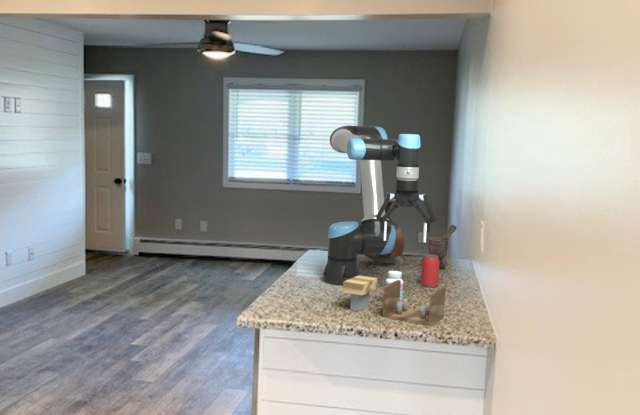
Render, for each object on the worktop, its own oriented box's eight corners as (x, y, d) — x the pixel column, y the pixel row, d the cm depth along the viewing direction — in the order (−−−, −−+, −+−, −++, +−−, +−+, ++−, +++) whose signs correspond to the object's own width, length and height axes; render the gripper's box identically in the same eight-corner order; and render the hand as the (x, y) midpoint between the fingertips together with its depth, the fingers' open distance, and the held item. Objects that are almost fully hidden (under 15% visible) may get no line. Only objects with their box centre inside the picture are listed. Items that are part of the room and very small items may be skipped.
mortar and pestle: (451, 266, 274) (454, 222, 272) (455, 270, 266) (457, 225, 264) (426, 265, 275) (428, 221, 273) (428, 269, 267) (430, 224, 264)
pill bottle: (397, 307, 203) (399, 275, 201) (381, 304, 206) (382, 272, 205) (405, 303, 208) (406, 271, 207) (389, 300, 211) (390, 269, 210)
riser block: (350, 309, 199) (350, 291, 198) (360, 304, 205) (361, 287, 205) (358, 311, 197) (359, 293, 196) (368, 305, 204) (369, 288, 203)
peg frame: (382, 317, 191) (384, 286, 190) (396, 309, 201) (397, 279, 200) (432, 326, 183) (433, 294, 182) (443, 317, 193) (445, 287, 192)
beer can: (437, 288, 232) (439, 257, 230) (420, 287, 233) (422, 256, 232) (438, 284, 238) (439, 254, 237) (421, 283, 239) (422, 253, 238)
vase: (367, 257, 288) (370, 195, 284) (407, 261, 281) (410, 198, 278) (353, 266, 266) (356, 199, 263) (396, 271, 260) (400, 202, 257)
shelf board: (362, 295, 194) (362, 284, 193) (342, 292, 197) (343, 281, 197) (377, 288, 204) (377, 277, 204) (358, 285, 207) (359, 275, 207)
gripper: (371, 178, 202) (368, 241, 204) (446, 181, 201) (442, 244, 203) (370, 177, 209) (367, 237, 212) (442, 179, 208) (439, 240, 211)
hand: (404, 241), depth 208 cm, fingers open, 13 cm apart
